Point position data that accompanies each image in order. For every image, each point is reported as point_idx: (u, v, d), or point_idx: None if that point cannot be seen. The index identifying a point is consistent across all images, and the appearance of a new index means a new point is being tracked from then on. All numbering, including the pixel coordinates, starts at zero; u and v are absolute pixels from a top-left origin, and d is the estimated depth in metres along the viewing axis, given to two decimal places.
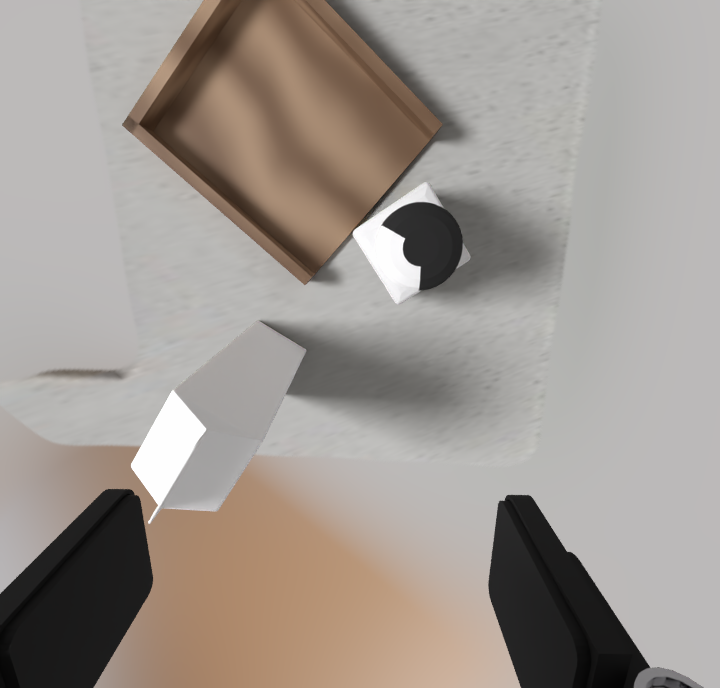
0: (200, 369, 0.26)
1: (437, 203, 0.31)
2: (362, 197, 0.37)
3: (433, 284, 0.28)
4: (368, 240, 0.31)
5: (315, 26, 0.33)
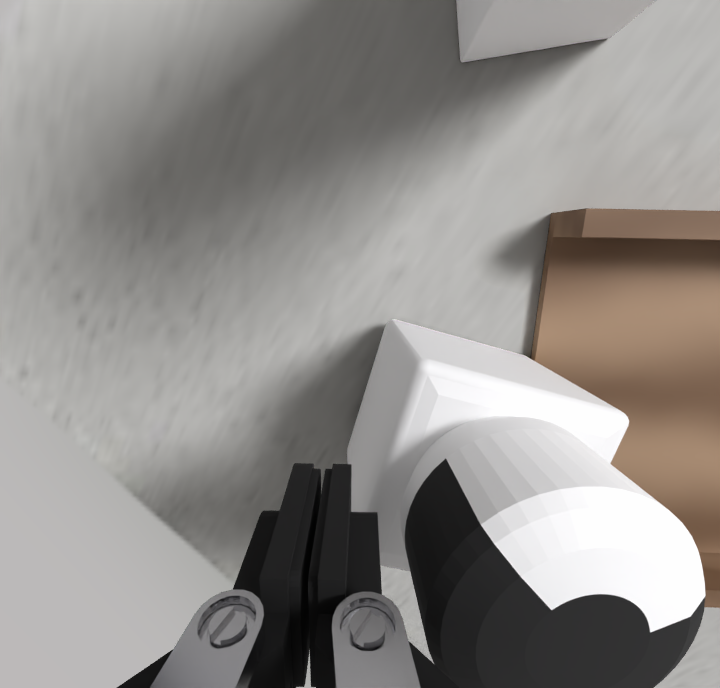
0: None
1: None
2: None
3: (459, 581, 0.08)
4: (592, 434, 0.12)
5: None
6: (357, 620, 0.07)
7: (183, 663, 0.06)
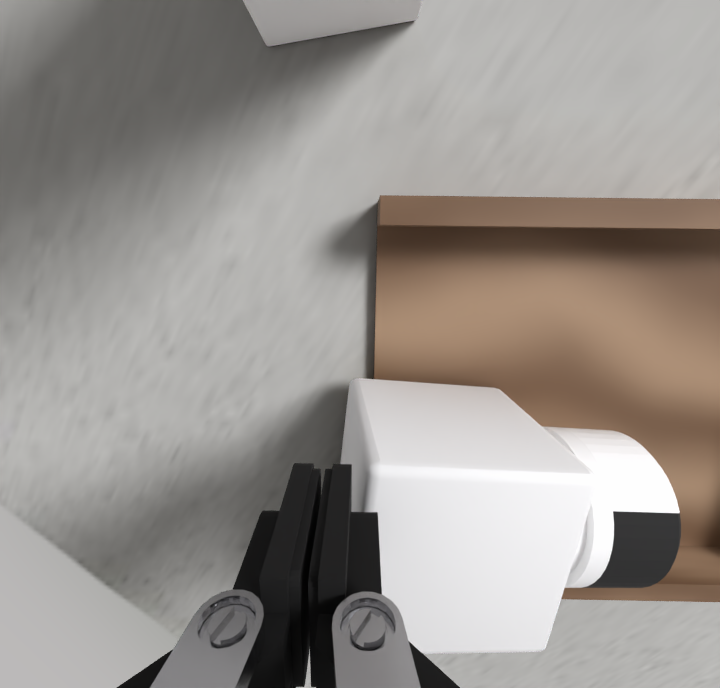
0: None
1: None
2: None
3: (679, 542, 0.14)
4: None
5: None
6: (357, 620, 0.07)
7: (183, 663, 0.06)
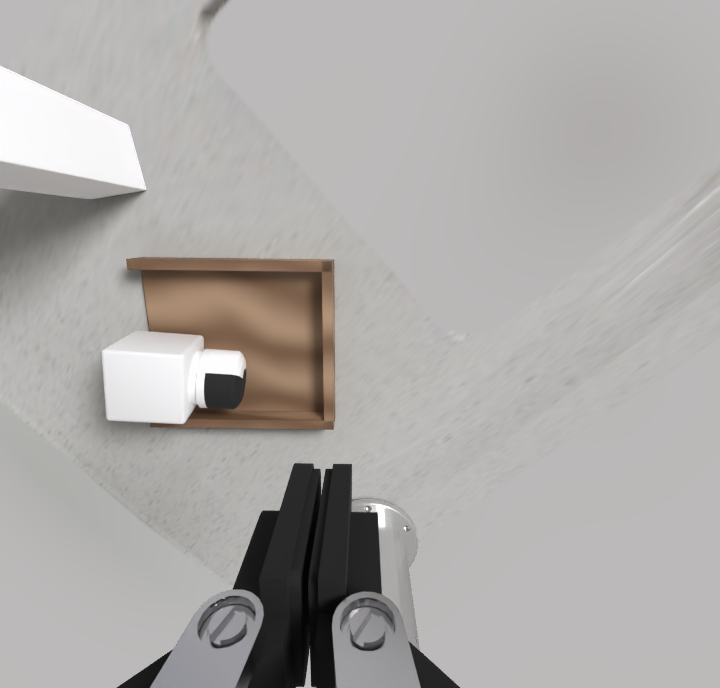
0: (17, 165, 0.25)
1: None
2: None
3: (234, 385, 0.38)
4: (202, 345, 0.42)
5: (275, 409, 0.45)
6: (357, 620, 0.07)
7: (183, 663, 0.06)
